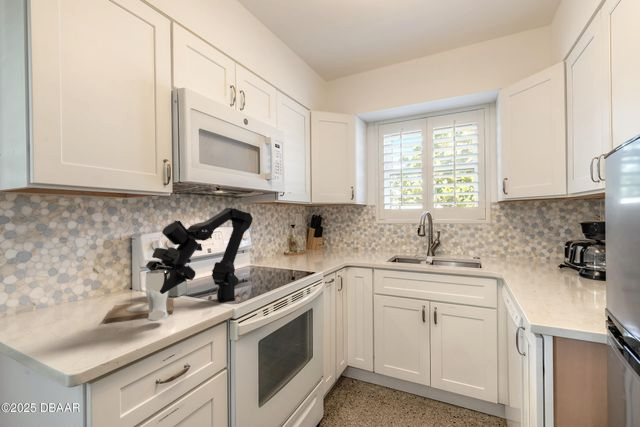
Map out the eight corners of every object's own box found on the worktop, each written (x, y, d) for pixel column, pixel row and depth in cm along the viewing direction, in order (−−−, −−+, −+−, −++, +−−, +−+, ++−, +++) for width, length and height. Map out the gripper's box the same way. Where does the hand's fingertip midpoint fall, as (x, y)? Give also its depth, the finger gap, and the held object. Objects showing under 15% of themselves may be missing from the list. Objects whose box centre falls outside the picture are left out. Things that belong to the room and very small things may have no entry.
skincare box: (187, 293, 131) (187, 258, 131) (176, 297, 124) (176, 261, 124) (172, 292, 133) (172, 258, 133) (160, 296, 126) (160, 260, 126)
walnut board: (173, 302, 118) (173, 297, 118) (172, 314, 103) (172, 309, 103) (114, 309, 109) (114, 304, 109) (104, 323, 95) (104, 318, 95)
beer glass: (164, 312, 99) (164, 268, 99) (174, 316, 94) (173, 270, 94) (142, 318, 93) (141, 271, 93) (150, 323, 89) (150, 274, 89)
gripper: (150, 237, 101) (117, 275, 91) (187, 239, 93) (155, 281, 83) (171, 256, 108) (142, 293, 99) (207, 260, 100) (179, 300, 90)
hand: (154, 292), depth 92 cm, fingers closed on beer glass, 7 cm apart
